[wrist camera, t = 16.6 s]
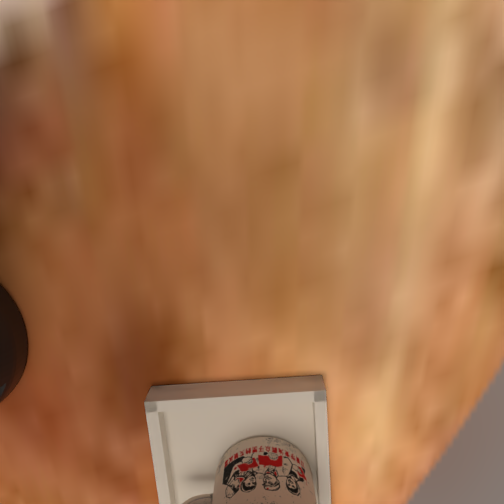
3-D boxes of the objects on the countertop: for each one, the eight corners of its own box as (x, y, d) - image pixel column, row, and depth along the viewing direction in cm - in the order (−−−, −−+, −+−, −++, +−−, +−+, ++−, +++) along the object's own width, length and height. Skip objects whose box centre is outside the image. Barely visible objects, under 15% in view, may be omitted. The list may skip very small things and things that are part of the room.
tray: (175, 553, 44) (170, 577, 41) (151, 386, 40) (144, 402, 37) (329, 544, 43) (334, 568, 41) (321, 375, 39) (325, 390, 37)
